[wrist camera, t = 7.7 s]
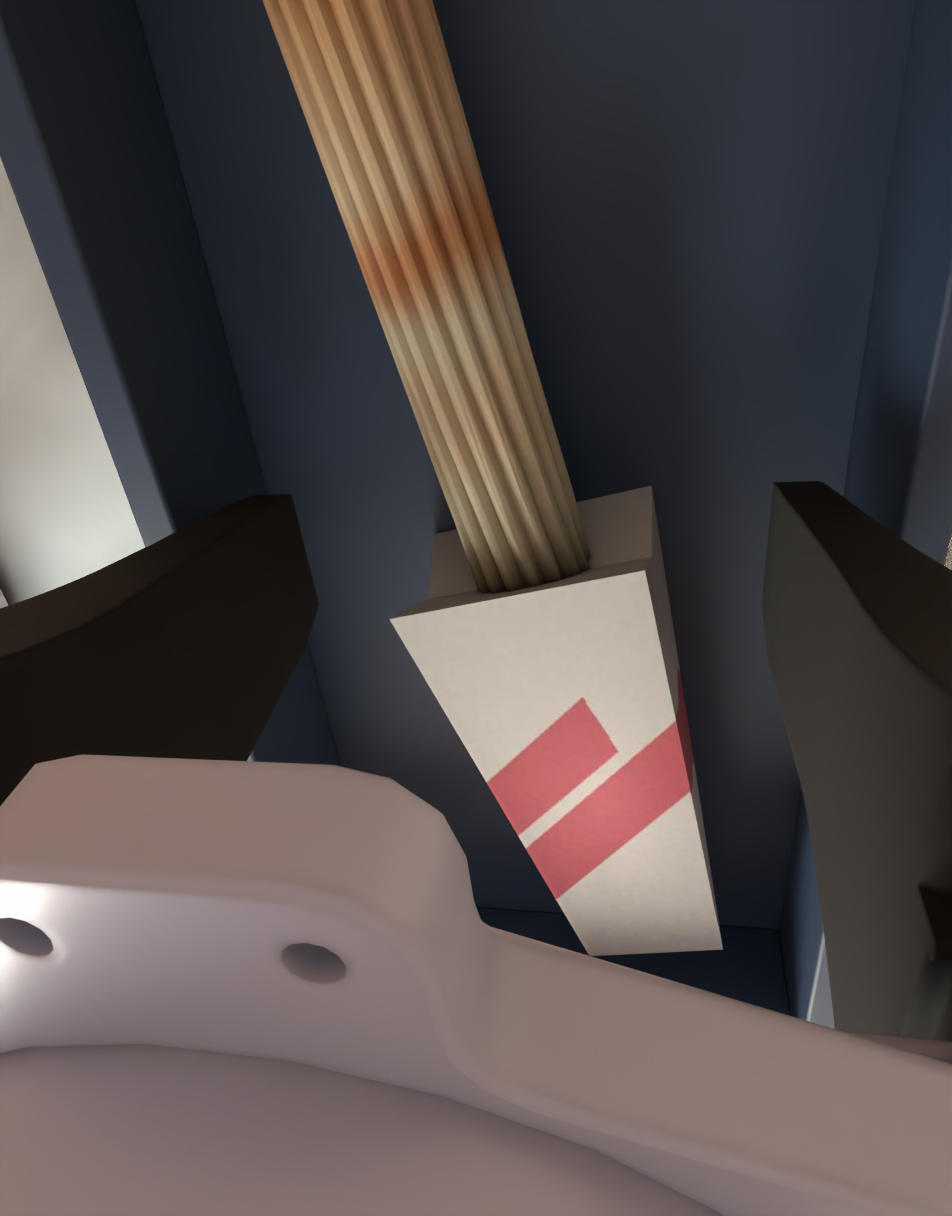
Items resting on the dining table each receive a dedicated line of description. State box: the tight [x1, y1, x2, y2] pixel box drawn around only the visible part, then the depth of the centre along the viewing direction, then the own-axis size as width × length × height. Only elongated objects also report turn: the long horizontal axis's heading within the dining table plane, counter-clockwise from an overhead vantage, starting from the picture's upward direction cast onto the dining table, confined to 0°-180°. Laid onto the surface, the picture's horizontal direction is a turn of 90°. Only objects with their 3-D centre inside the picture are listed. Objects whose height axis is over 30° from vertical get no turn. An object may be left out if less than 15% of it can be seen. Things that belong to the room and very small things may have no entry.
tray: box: [0, 0, 952, 1029], centre depth 13 cm, size 11×23×4 cm, turn 6°
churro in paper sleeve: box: [263, 0, 723, 956], centre depth 13 cm, size 4×3×20 cm
